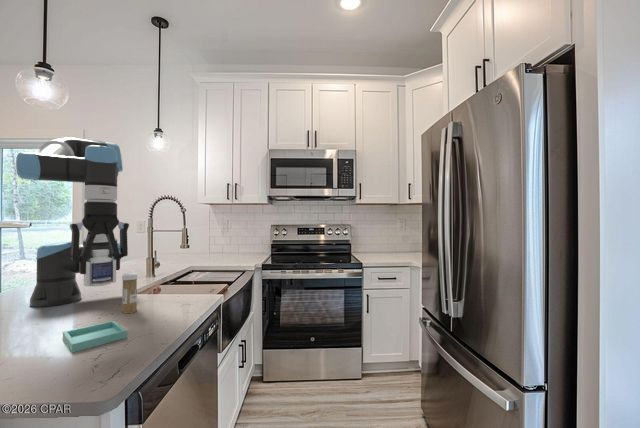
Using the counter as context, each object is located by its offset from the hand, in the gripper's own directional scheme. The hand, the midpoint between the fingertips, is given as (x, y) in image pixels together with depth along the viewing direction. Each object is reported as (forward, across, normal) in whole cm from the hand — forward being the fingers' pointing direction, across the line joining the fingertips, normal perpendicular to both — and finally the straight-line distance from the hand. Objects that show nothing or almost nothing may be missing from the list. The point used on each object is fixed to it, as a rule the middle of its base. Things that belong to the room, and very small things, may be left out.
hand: (100, 283), depth 84 cm
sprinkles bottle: (+15, +13, +18) cm, 27 cm away
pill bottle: (+1, 0, 0) cm, 1 cm away
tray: (+15, -1, 0) cm, 15 cm away
